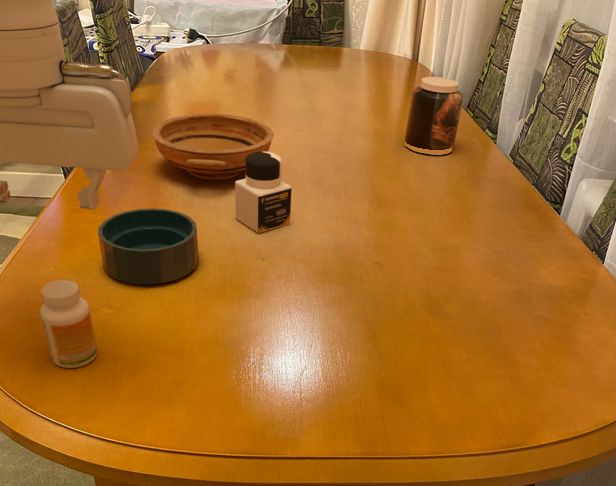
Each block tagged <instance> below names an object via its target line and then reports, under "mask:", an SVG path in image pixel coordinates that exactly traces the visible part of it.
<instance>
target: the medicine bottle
mask: <svg viewBox="0 0 616 486" xmlns="http://www.w3.org/2000/svg"><path fill="white" fill-rule="evenodd" d="M245 160H246V169H245V178H242V179H238V180H236V181H235V182H234V198H235V205H234V207H235V208H234V209H235V219H236V220H237V221H239V222H240V223H241V224H243V225H245V226H247V227H248V228H249V229H251V230H252V231H254V232H255V233H257V234H261V233H265V232H267V231H271V230H275V229H277V228H281V227H284V226H285V227H286V226H288V225H290V224H291V213H292V212H291V210H292V209H291V208H292V190H293V189H292V186H291V185H290V184H288V183H287V182H284V181H283V180H282V158H281V156H280V155H278V154H276V153H274V152H271V151H268V152H265V151H260V152H254V153H251V154H249V155H248V156H247V157H246V159H245Z"/></svg>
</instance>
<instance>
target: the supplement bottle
mask: <svg viewBox="0 0 616 486" xmlns="http://www.w3.org/2000/svg"><path fill="white" fill-rule="evenodd" d="M41 296H42V297H41V298H42V301H43V304H42V305H41V307H40V311H39V313H40V319H41V323H42V327H43V331H44V334H45V339H46V343H47V347H48V350H49V354H50V358H51V360H52V362H53V363H54V364H55V365H56V366H58V367H60V368H64V369H75V368H76V369H77V368H81V367H84V366H86V365H88V364H90V363H91V362H92V361H94V360H95V358H96V357H97V355H98V345H97V340H96V335H95V332H94V326H93V321H92V316H91V311H90V306H89V304H88V302H87V300H85V299H84V298H83V297H81V292H80V287H79V285H78V284H77V282H75V281H73V280H69V279H63V280H62V279H60V280H54V281H50V282H49V283H46V284H45V285H44V286H43V287H42V288H41Z"/></svg>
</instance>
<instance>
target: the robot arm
mask: <svg viewBox="0 0 616 486" xmlns="http://www.w3.org/2000/svg"><path fill="white" fill-rule="evenodd" d="M114 76H115V77H114ZM132 110H133V97H132V88H131V84H130V82H129V80H128V79H127V78H126V77H125V76H124V75H123V74H122V73H121V72H119V71H117V70H115V69H114V67H113V66H112V65H109V64H106V63H105V64H104V63H97V64H88V63H84V62H79V61H78V62H77V61H75V62H74V61H67V60H66V55H65V49H64V42H63V37H62V31H61V26H60V21H59V16H58V13H57V10H56V8H55V5H54V4H53V1H52V0H0V163H7V164H21V165H36V166H48V167H49V166H50V167H60V168H61V167H62V168H63V167H64V168H73V169H74V168H76V169H78V168H79V169H83V173H84V178H86V179H90V180H89V183H88V186H83V187H82V188H81V190H79V191H78V192H77V198H78V199H77V200H78V201H79V208H80V209H81V210H97V209H98V208H99V207H100V203H101V199H100V193H99V188H100V186H101V184H102V182H103V180H104V177H105V175H106V173H107V171H115V172H124V171H126V170H128V168H130V166H131V165H132V164H133V163H134V162H135V161H136V159H137V158H138V156H139V153H140V147H139V141H138V136H137V130H136V126H135V122H134V119H133V114H132ZM10 198H11V192H10V189H9V183H8V181H7V180H0V203H7V201H8V200H9V199H10Z"/></svg>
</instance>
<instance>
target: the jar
mask: <svg viewBox="0 0 616 486" xmlns="http://www.w3.org/2000/svg"><path fill="white" fill-rule="evenodd" d="M458 87H459V82H458V81H457V80H454V79H451V78H447V77H441V76H425V77H423V78H421V82H420V84H419V85H418V86H415V87H414V88H413V90H412V93H411V98H410V103H409V104H410V105H409V109H408V116H407V121H406V129H405V137H404V142H405V141H406V143H407V144H409V145H411V146H414V147H417V148H422V149H429V150H445V149H449V148H451V147H453V145H454V146H455V143H456V138H457V132H458V127H459V122H460V117H461V111H462V107H463V98H464V97H463V96H464V95H463V93H462V92H461V91H459V90H458ZM453 148H454V147H453Z"/></svg>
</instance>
